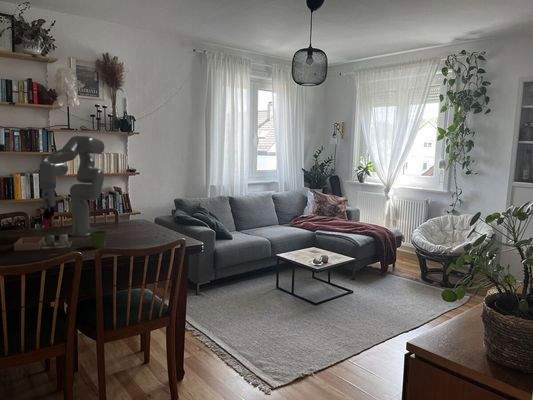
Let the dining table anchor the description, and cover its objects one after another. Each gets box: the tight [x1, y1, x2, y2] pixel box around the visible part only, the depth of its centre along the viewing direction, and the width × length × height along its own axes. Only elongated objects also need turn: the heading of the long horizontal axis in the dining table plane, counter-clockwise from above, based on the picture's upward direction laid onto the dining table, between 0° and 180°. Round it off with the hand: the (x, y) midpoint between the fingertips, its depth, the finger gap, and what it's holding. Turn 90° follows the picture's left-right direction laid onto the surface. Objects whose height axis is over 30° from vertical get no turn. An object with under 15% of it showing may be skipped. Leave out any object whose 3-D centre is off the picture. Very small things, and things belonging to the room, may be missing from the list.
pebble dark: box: [45, 234, 56, 247], centre depth 219 cm, size 4×4×6 cm
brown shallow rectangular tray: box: [13, 236, 46, 252], centre depth 216 cm, size 12×16×4 cm
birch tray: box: [40, 240, 73, 250], centre depth 221 cm, size 14×14×1 cm
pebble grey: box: [59, 233, 69, 246], centre depth 221 cm, size 4×4×6 cm
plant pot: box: [89, 230, 108, 249], centre depth 221 cm, size 9×9×9 cm
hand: (49, 217), depth 217 cm, fingers open, 9 cm apart
